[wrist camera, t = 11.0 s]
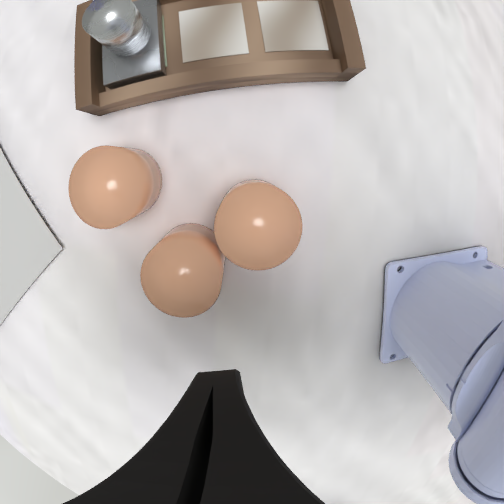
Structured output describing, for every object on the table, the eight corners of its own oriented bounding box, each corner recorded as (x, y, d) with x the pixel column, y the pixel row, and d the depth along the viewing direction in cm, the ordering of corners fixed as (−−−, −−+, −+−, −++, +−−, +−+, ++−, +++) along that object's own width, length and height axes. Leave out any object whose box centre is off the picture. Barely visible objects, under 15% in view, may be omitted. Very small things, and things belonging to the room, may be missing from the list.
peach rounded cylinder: (219, 218, 18) (214, 234, 14) (229, 283, 19) (227, 312, 15) (154, 228, 18) (132, 246, 14) (167, 290, 19) (151, 320, 15)
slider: (161, 4, 13) (140, -36, 8) (166, 75, 14) (141, 47, 10) (110, 18, 13) (77, -14, 8) (111, 89, 14) (73, 69, 10)
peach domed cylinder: (156, 142, 16) (134, 136, 13) (167, 209, 18) (148, 221, 14) (96, 157, 16) (63, 157, 13) (106, 220, 18) (77, 234, 14)
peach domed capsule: (285, 175, 17) (297, 179, 14) (291, 243, 18) (305, 264, 15) (215, 184, 17) (208, 190, 13) (224, 251, 18) (221, 275, 15)
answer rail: (326, -11, 14) (339, -33, 11) (347, 81, 16) (365, 68, 13) (96, 22, 14) (77, 5, 11) (99, 116, 16) (76, 109, 13)
